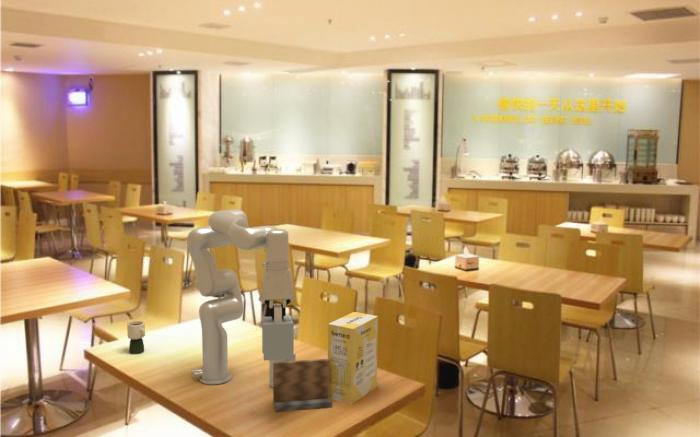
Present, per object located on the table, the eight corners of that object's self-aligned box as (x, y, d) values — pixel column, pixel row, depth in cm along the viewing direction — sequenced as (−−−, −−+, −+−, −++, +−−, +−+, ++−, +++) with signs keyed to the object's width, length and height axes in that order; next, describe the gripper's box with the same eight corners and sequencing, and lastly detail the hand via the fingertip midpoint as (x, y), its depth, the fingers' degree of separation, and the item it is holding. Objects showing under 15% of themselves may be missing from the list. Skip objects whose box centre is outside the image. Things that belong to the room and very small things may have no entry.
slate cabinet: (263, 360, 215) (263, 310, 213) (262, 351, 224) (261, 302, 222) (293, 358, 217) (293, 308, 215) (290, 349, 226) (290, 301, 224)
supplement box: (284, 390, 241) (284, 358, 239) (268, 386, 244) (268, 354, 243) (296, 384, 247) (296, 352, 245) (280, 379, 251) (280, 348, 249)
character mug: (151, 352, 279) (151, 323, 277) (138, 356, 273) (137, 327, 271) (135, 347, 284) (134, 318, 282) (121, 351, 278) (120, 322, 276)
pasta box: (352, 381, 251) (354, 311, 247) (376, 386, 245) (378, 316, 241) (327, 397, 235) (328, 323, 231) (351, 404, 230) (353, 328, 226)
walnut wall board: (275, 411, 223) (275, 370, 221) (273, 402, 230) (273, 362, 228) (332, 407, 227) (332, 366, 225) (327, 397, 235) (328, 358, 233)
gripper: (253, 268, 211) (254, 322, 214) (302, 267, 214) (302, 320, 217) (252, 264, 218) (253, 316, 221) (299, 262, 222) (299, 314, 224)
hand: (277, 317), depth 219 cm, fingers closed on slate cabinet, 2 cm apart
